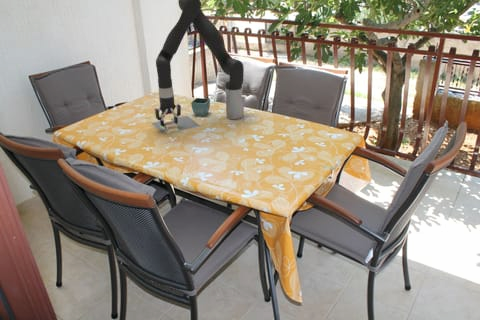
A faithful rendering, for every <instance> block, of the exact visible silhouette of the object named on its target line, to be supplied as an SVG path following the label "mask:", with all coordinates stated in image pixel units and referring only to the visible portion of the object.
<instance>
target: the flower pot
mask: <svg viewBox="0 0 480 320" xmlns="http://www.w3.org/2000/svg"><path fill="white" fill-rule="evenodd" d="M190 104H191V109H192V112H193V114H194V115H195V116H200V117H205V116H206V115H207V114H208V112H209V110H210V108H211V99H210V98H206V97H205V98H204V97H203V98H202V97H201V98H200V97H196V98H194V100H192V101H191V102H190Z"/></svg>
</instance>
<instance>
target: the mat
mask: <svg viewBox="0 0 480 320" xmlns="http://www.w3.org/2000/svg"><path fill="white" fill-rule="evenodd" d="M170 119H171V120H172V121H173V122H174V117H173V118H169V119H167V120H170ZM163 120H164V121H165V120H166V119H163ZM150 124H151V125H152V126H153V127H154V128H156V129H157V131H159V132H160V133H161V134H162V135H167V134H171V133H176V132H180V131H184V130H185V131H186V130H188V129H194V128H198V127H201V124H199V123H198V122H196V120H194V119H193V118H191V117H190V116H189V115H184V116H182V115H181V116H178V123H177V128H178V130H177V131H173V132H168V131H167V130H166V129H165V128H164V127H162V126H161V124H160V120H158V121H154V122H151V123H150Z"/></svg>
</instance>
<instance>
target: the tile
mask: <svg viewBox="0 0 480 320" xmlns="http://www.w3.org/2000/svg"><path fill="white" fill-rule="evenodd" d="M169 119H170V120H168V119H164V120H165V121H164V128H165V129H166V130H167V131H168V132H172V133H174V132H173V131H176V132H178V131H177V130H178V128H177V124H175V123H174V122H173V121H172V120H171V119H172V118H169Z"/></svg>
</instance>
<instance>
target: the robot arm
mask: <svg viewBox="0 0 480 320" xmlns="http://www.w3.org/2000/svg"><path fill="white" fill-rule="evenodd" d="M178 6H179V8H180V10H181V14H180V17H179V19H178V20H177V22H176V24H175V25H174V26H173V28H172V29H171V30H170V32H169V33H168V35H167V37H166V39H165V41H164V43H163V46H162V48H161V50H160V51H159V54H158V55H157V57H156V60H155V66H156V71H157V73H156V74H157V85H158V98H159V104H160V105H159V107H158V108H157V107H155V108H154V114H155V118H156V120H157V121H160V124H161V126H162V127H164V120H165V117H166V116H167V115H171V114H172V115H173V116H174V117H173V118H174V123H175V124H177V123H178V117H181V116H182V113H181V112H182V107H181V105H180V104H179V103H177V104H175V95H174V88H173V79H172V70H171V69H172V68H171V67H172V66H171V65H172V64H171V62H172V59H173V57H174V56H175V55H176V54H177V51H178V50H179V47H180V46H181V43H182V40H183V39H184V36H185V35H186V33H187V31H188V29H189V28H190V27H191V25H192V24H193V26H194V28H195V30H196V31H197V33H198V35H199V36H200V38H201V40H202V41H203V43H204V44H205V45H206V47H207V48H208V49H209V51H210V53H212V55H213V56H214V57H215V59H216V61H217V62H218V65H219V67H220V68H221V70H222V71H223V73H224V74H226V75H228V76H229V81H227V82H225V108H226V109H225V110H226V113H225V114H226V118H227V119H229V120H239V119H242V118H243V117H245V115H244V114H245V107H244V106H245V105H244V103H245V102H244V100H243V84H244V73H245V72H244V69H245V68H244V64H243V62H242V61H241V60H238V59H235V58H233V57H232V56H231V55H230V54H229V52H228V51H227V49H226V47H225V41H224V38H223V36H222V34H221V33H220V31H219V30H218V28H217V27H216V25H214V23H213V22H212V21H211V20H210V19H209V18H208V17H207V16H206V15H205V14H204V12H203V9H202V2H201V0H178ZM175 109H176V111H175ZM160 112H161V113H160Z"/></svg>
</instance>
